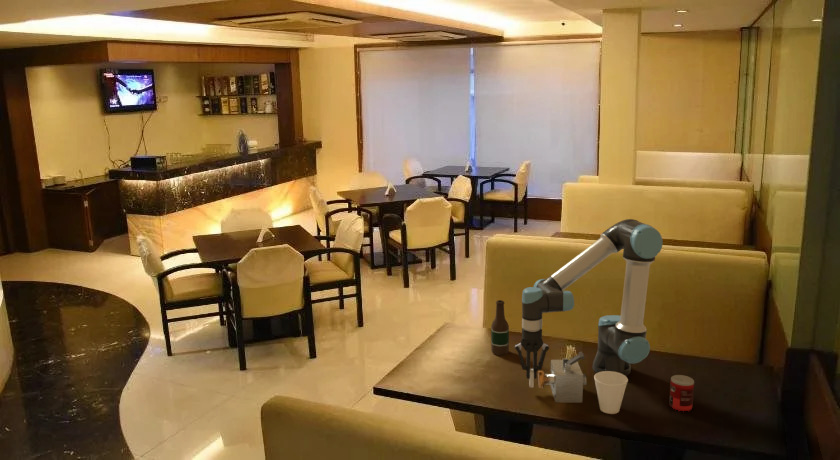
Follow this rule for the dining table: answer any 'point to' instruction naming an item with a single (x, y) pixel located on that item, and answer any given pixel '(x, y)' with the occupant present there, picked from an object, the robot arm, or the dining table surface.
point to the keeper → (575, 358)
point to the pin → (550, 379)
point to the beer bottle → (500, 331)
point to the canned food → (681, 392)
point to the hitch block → (567, 381)
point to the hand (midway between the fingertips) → (531, 385)
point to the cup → (610, 390)
